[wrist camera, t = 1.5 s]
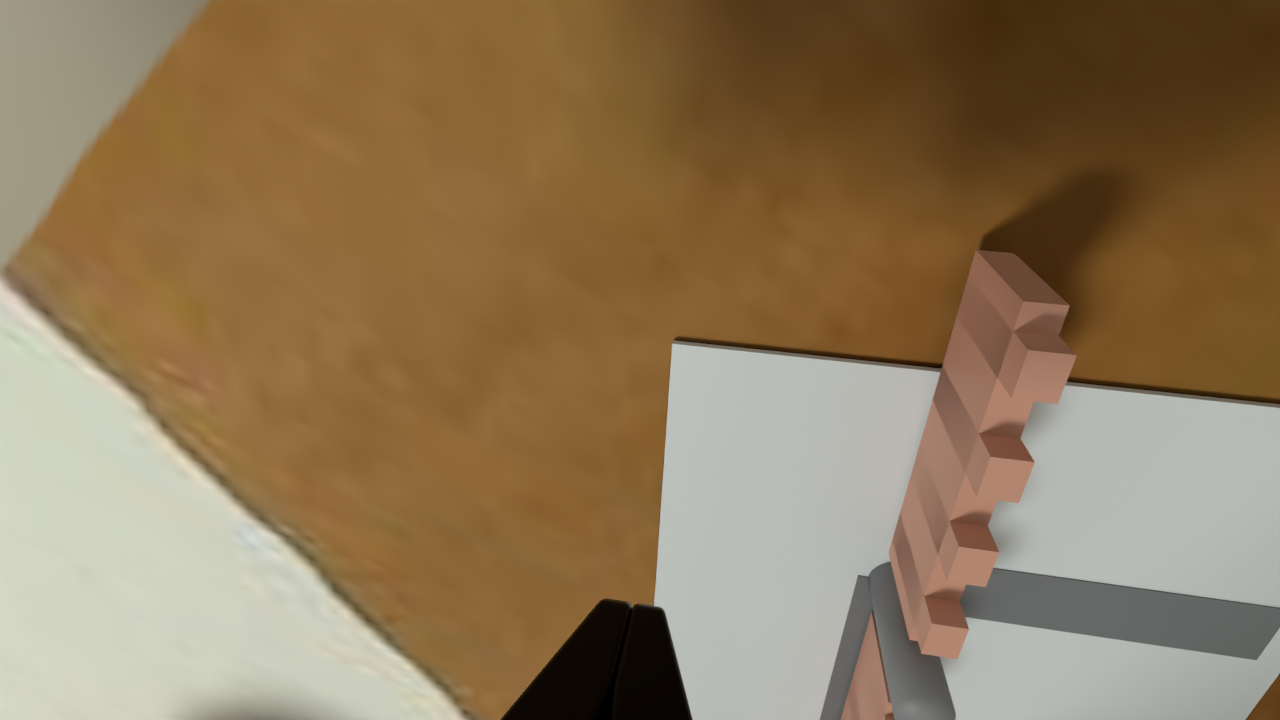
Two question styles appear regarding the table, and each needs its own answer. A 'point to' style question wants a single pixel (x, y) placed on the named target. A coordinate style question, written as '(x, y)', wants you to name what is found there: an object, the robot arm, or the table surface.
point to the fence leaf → (975, 443)
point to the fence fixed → (894, 665)
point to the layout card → (1023, 532)
